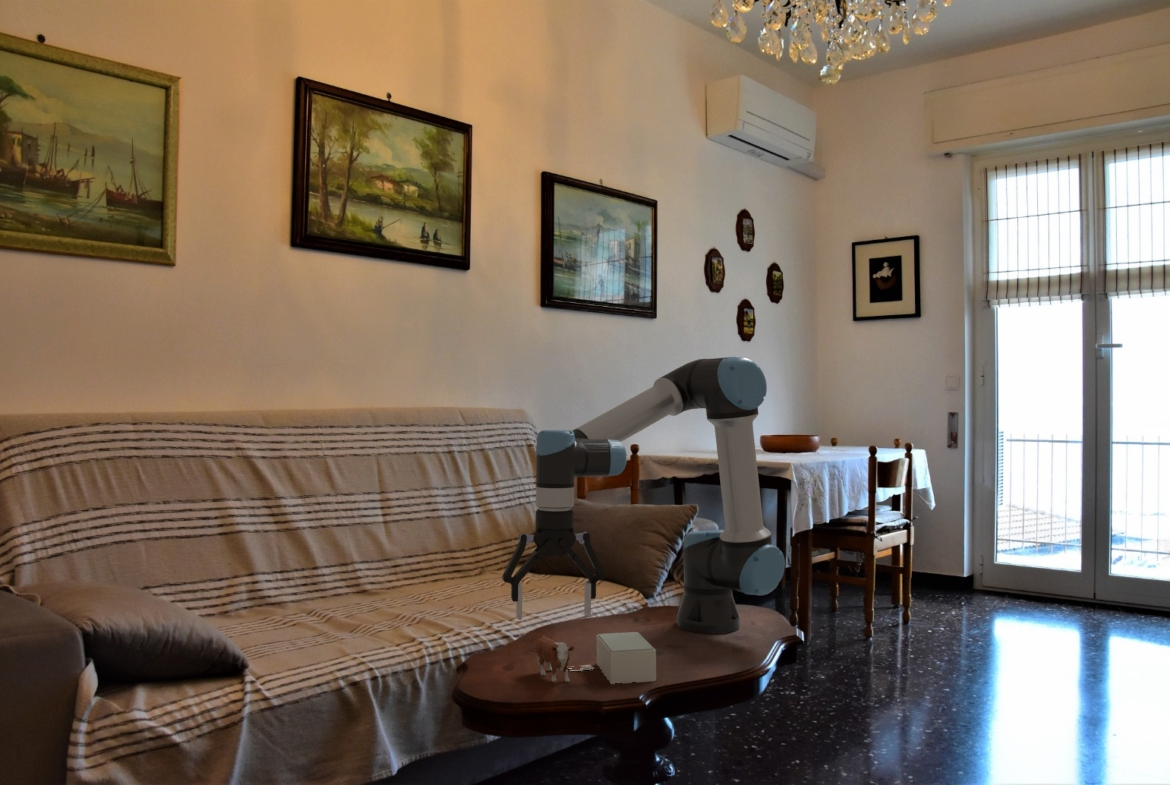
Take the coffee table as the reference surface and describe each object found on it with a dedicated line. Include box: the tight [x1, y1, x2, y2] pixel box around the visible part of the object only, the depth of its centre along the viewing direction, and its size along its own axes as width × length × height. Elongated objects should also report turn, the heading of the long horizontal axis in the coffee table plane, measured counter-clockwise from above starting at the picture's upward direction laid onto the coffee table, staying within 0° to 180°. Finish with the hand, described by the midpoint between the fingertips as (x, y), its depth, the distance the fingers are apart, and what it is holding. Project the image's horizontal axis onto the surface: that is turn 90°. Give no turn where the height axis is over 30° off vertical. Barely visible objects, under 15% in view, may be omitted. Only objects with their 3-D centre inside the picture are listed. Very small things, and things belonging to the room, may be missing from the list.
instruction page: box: [567, 664, 596, 672], centre depth 178 cm, size 5×3×1 cm, turn 110°
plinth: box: [596, 631, 657, 685], centre depth 176 cm, size 9×13×6 cm
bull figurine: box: [535, 635, 575, 683], centre depth 172 cm, size 4×13×8 cm, turn 23°
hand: (553, 617), depth 172 cm, fingers open, 13 cm apart
